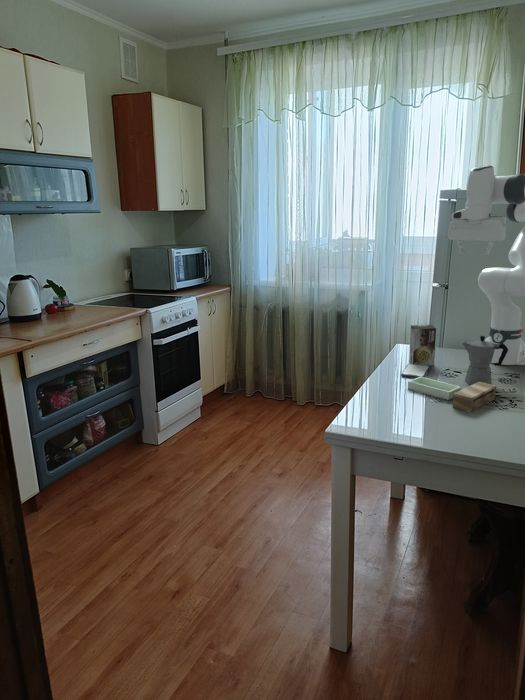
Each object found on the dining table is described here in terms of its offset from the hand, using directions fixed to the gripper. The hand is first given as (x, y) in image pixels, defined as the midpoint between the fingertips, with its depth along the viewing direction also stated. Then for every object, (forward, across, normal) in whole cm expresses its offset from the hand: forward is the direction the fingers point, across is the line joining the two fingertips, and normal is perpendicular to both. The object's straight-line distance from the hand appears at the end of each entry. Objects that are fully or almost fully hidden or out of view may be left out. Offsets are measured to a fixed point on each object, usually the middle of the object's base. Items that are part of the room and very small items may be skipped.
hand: (474, 253), depth 185 cm
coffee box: (+47, +21, -4) cm, 52 cm away
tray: (+47, -1, +23) cm, 52 cm away
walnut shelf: (+47, -16, +23) cm, 55 cm away
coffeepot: (+47, -8, +2) cm, 48 cm away
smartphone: (+48, +16, +8) cm, 51 cm away
